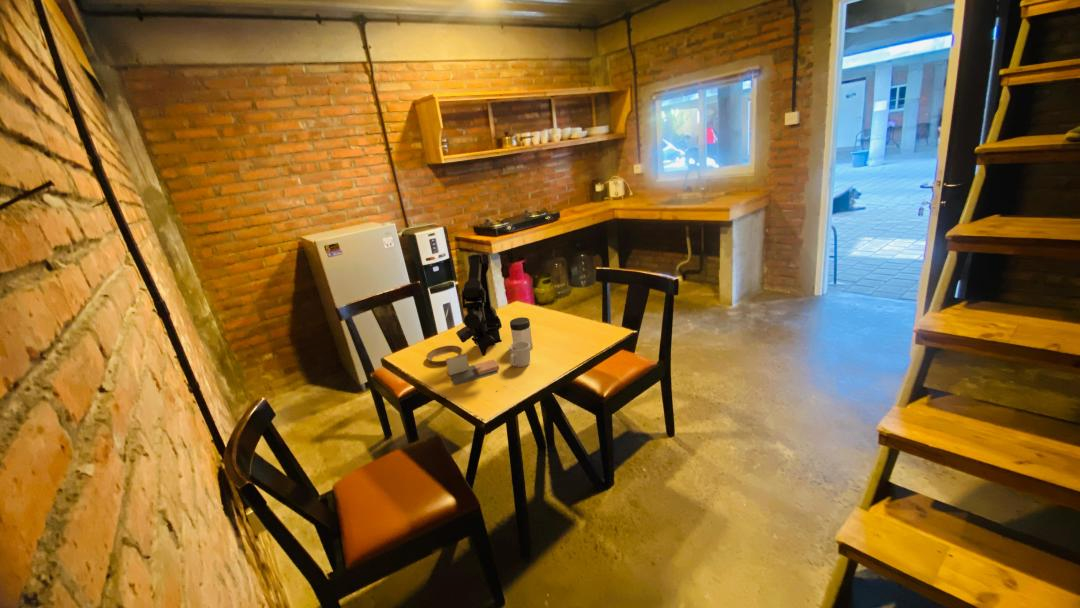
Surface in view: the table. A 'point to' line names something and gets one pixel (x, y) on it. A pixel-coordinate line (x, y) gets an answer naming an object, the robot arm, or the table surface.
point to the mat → (468, 376)
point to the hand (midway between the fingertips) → (483, 355)
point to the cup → (520, 354)
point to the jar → (521, 330)
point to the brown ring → (443, 352)
